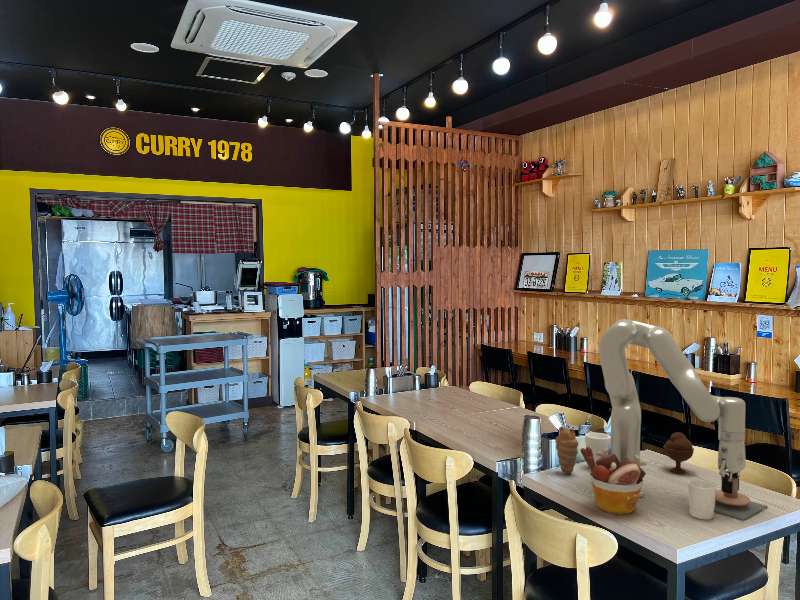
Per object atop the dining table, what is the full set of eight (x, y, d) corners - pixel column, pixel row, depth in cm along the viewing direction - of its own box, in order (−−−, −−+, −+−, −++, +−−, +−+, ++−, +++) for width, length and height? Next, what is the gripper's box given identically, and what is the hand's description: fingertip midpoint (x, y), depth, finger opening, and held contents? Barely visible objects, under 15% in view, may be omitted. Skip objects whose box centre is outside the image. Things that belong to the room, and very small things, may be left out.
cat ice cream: (551, 473, 226) (552, 426, 225) (562, 469, 231) (563, 423, 230) (571, 479, 219) (572, 431, 219) (583, 474, 225) (583, 427, 224)
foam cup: (602, 474, 225) (602, 440, 225) (580, 468, 232) (580, 435, 232) (614, 468, 232) (615, 436, 231) (592, 463, 239) (593, 431, 238)
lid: (741, 508, 186) (741, 486, 185) (705, 498, 194) (705, 477, 194) (755, 500, 193) (756, 479, 192) (720, 490, 201) (720, 470, 201)
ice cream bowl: (656, 469, 231) (657, 431, 231) (676, 465, 236) (677, 428, 235) (679, 477, 221) (680, 438, 221) (700, 473, 226) (701, 435, 226)
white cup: (685, 516, 185) (686, 485, 185) (689, 508, 192) (690, 478, 191) (713, 522, 181) (714, 490, 180) (716, 514, 187) (717, 483, 187)
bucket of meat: (637, 500, 199) (638, 441, 198) (653, 519, 182) (655, 456, 182) (576, 497, 201) (577, 439, 200) (587, 516, 184) (588, 453, 184)
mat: (743, 521, 182) (743, 519, 182) (691, 505, 195) (691, 503, 194) (767, 507, 193) (767, 505, 193) (717, 493, 205) (717, 491, 205)
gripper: (732, 442, 185) (730, 500, 185) (754, 434, 195) (753, 489, 196) (707, 437, 191) (706, 493, 191) (730, 429, 201) (729, 482, 202)
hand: (730, 490), depth 193 cm, fingers closed on lid, 4 cm apart
